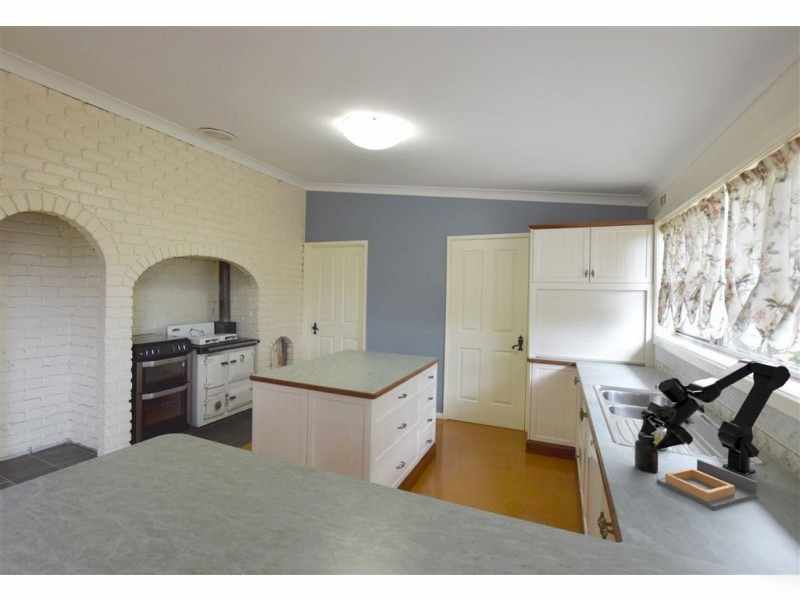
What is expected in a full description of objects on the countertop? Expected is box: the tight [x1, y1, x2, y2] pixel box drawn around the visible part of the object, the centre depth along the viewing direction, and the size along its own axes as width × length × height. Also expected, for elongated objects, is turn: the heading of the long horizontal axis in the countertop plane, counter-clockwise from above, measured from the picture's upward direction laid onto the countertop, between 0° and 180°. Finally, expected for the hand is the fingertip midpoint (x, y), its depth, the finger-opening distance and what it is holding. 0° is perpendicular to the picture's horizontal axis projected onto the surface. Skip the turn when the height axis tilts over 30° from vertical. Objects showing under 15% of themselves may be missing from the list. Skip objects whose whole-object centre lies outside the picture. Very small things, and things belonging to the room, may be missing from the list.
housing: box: [656, 458, 759, 511], centre depth 115 cm, size 20×16×5 cm
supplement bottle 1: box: [634, 431, 659, 474], centre depth 129 cm, size 7×7×12 cm
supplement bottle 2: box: [651, 424, 668, 451], centre depth 147 cm, size 5×5×10 cm
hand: (647, 443), depth 129 cm, fingers open, 9 cm apart
